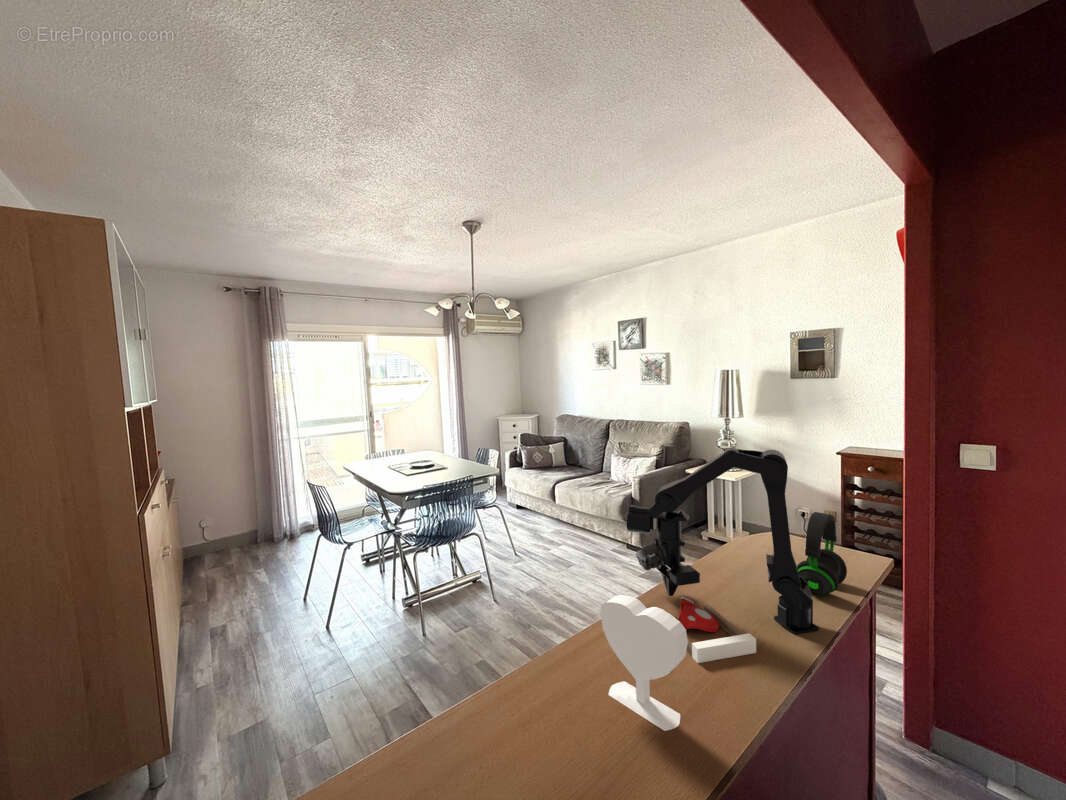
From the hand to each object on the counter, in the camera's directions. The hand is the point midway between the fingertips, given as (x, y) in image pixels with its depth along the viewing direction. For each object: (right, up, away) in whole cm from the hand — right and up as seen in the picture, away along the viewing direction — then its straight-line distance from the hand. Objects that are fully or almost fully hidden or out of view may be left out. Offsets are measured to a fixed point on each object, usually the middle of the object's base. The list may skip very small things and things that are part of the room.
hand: (670, 595), depth 113 cm
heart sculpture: (-16, -4, -34) cm, 38 cm away
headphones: (+41, 0, +3) cm, 41 cm away
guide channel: (+3, -2, -14) cm, 14 cm away
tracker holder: (+3, -2, -9) cm, 10 cm away
